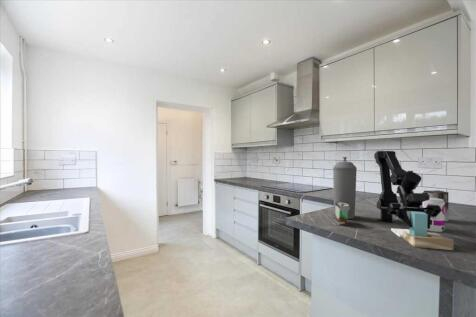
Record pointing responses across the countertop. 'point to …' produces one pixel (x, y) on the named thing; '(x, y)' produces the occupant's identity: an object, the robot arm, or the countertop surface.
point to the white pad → (399, 231)
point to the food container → (341, 213)
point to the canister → (345, 185)
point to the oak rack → (429, 242)
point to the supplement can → (438, 221)
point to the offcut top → (434, 235)
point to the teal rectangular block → (418, 224)
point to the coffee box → (440, 195)
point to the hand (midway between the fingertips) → (420, 227)
